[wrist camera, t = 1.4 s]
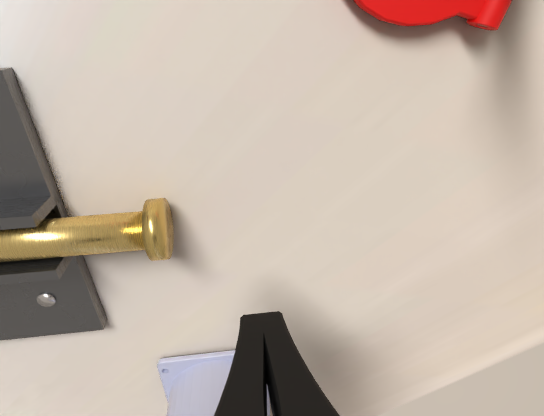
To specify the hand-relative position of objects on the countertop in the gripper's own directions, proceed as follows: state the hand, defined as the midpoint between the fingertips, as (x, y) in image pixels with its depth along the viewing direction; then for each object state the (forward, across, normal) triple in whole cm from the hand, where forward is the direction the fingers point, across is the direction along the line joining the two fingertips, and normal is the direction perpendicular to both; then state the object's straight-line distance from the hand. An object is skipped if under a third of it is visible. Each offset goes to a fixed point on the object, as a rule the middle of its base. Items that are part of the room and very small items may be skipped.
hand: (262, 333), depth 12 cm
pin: (+9, +12, 0) cm, 15 cm away
